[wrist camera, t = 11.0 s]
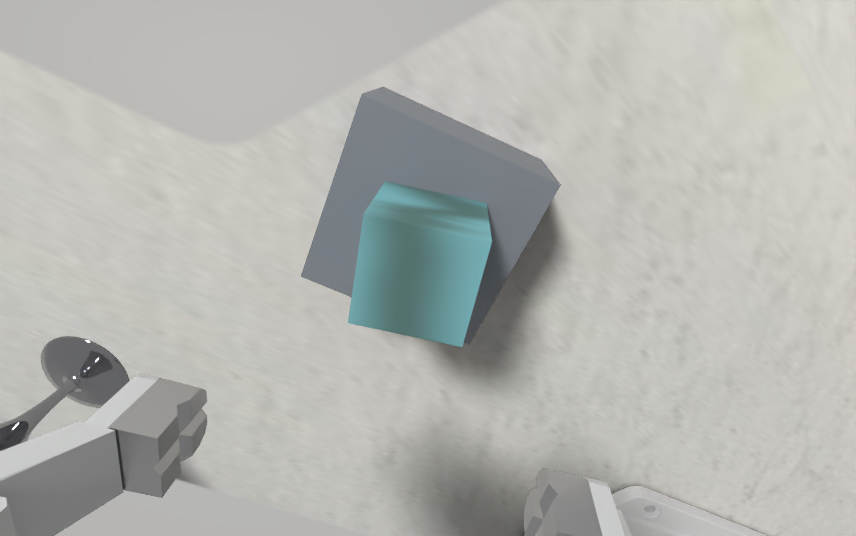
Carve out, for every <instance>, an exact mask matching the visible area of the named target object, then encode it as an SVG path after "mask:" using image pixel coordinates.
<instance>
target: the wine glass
mask: <svg viewBox="0 0 856 536" xmlns="http://www.w3.org/2000/svg"><path fill="white" fill-rule="evenodd" d="M41 365H42V369H43V371H44V373H45V375H46V377H47V378H48V380H49V381H50V382H51V383H52V385H53V386H54V387H55V388H56V389H57V391H55V392H54V393H53V394H52V395H50V396H49V397H48V398H46V399H45V400H43V401H42V402H41V403H39V404H38V405H36V406H35V407H33V408H31V409H30V410H28V411H27V412H25V413H23V414H22V415H20V416H18V417H16V418H15V419H12V420H9V421H6V422H3V423H0V451H2V450H5V449H8V448H10V447H13V446H15V445H18V444H21V443H23V442H26V441H28V438H29V436H30V434H31V432H32V431H33V429H34V428H35V427H36V426H37V425H38V423H39V422H40V421H41V420H42V419H43V418H44V417H45V416H46V415H47V414H48V413H49V412H50V411H51V410H52V409H53V408H54V407H55V406H56V405H57V404H58V403H59V402H60V401H61V400H62V399H63V398H65V397H68V398H70V399H71V400H73V401H76V402H78V403H80V404H83V405H86V406H90V407H97V408H101V407H102V406H103V405H104V404H105V403H106V402H107V401H108V400H110V399H111V398H112V397H113V396H114V395H115V394H116V393H117V392H118V391H119V390H120V389H122V388H123V387H124V386H125V385H126V384H127V383H128V382H129V379H128V376H127V373H126V372H125V370H124V368H123V366H122V365H121V364H120V362H119V361H118V360H117V359H116V358H115V357H114V356H113V355H112V354H111V353H110V352H108V351H107V350H106V349H104V348H103V347H101V346H100V345H98V344H96V343H94V342H91V341H89V340H86V339H83V338H78V337H69V336H67V337H59V338H56V339H53V340H52V341H50V342H49V343H47V344H46V345H45V347H44V349H43V350H42V354H41Z"/></svg>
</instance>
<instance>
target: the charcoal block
mask: <svg viewBox="0 0 856 536" xmlns="http://www.w3.org/2000/svg"><path fill="white" fill-rule="evenodd" d="M385 181H387V182H391V183H396V184H401V185H405V186H410V187H415V188H419V189H424V190H428V191H433V192H438V193H442V194H447V195H452V196H456V197H461V198H465V199H470V200H475V201H479V202H484V203H487V209H488V216H489V223H490V230H491V238H492V244H491V247H490V251H489V254H488V258H487V261H486V265H485V268H484V272H483V276H482V279H481V283H480V286H479V290H478V293H477V297H476V300H475V304H474V307H473V311H472V314H471V318H470V321H469V325H468V328H467V332H466V335H465V339H464V343H467V344H469V343H470V342H471V340H472V338H473V337H474V335H475V333H476V331H477V330H478V328H479V326H480V324H481V323H482V321H483V319H484V317H485V316H486V314H487V312H488V310H489V309H490V307H491V305H492V304H493V302H494V300H495V298H496V297H497V295H498V293H499V291H500V290H501V288H502V286H503V284H504V283H505V281H506V279H507V277H508V276H509V274H510V272H511V271H512V269H513V267H514V265H515V264H516V262H517V260H518V258H519V257H520V255H521V253H522V251H523V250H524V248H525V246H526V244H527V243H528V241H529V239H530V238H531V236H532V234H533V232H534V231H535V229H536V227H537V225H538V224H539V222H540V220H541V218H542V217H543V215H544V213H545V211H546V210H547V208H548V206H549V205H550V203H551V201H552V199H553V198H554V196H555V194H556V192H557V191H558V189H559V187H560V183H559V182H558V181H557V179H556V178H555V177H554V175H553V174H552V173H551V171H550V170H549V169H548V168H547V166H546V165H545V164H544V162H543V161H542V160H541V159H539V158H537V157H535V156H532V155H530V154H528V153H526V152H524V151H521V150H519V149H517V148H515V147H513V146H511V145H508V144H506V143H504V142H502V141H500V140H498V139H495V138H493V137H491V136H489V135H487V134H485V133H482V132H480V131H478V130H476V129H474V128H472V127H469V126H467V125H465V124H463V123H461V122H459V121H456V120H454V119H452V118H450V117H448V116H446V115H443V114H441V113H439V112H437V111H435V110H432V109H430V108H428V107H426V106H424V105H422V104H419V103H417V102H415V101H413V100H411V99H409V98H406V97H404V96H402V95H400V94H398V93H396V92H393V91H391V90H389V89H387V88H385V87H381V88H378V89H375V90H372V91H370V92H367V93H364V94H362V95H361V98H360V101H359V104H358V107H357V110H356V113H355V116H354V119H353V122H352V125H351V128H350V131H349V134H348V137H347V140H346V143H345V146H344V149H343V152H342V155H341V158H340V161H339V164H338V167H337V170H336V173H335V176H334V179H333V182H332V185H331V188H330V191H329V194H328V197H327V200H326V202H325V205H324V208H323V211H322V214H321V217H320V220H319V223H318V226H317V229H316V232H315V235H314V238H313V241H312V244H311V247H310V250H309V253H308V256H307V259H306V262H305V265H304V268H303V271H302V274H301V277H303V278H306V279H308V280H311V281H313V282H316V283H318V284H321V285H323V286H326V287H328V288H331V289H333V290H335V291H338V292H340V293H343V294H345V295H348V296H350V297H352V292H353V285H354V278H355V271H356V263H357V256H358V249H359V242H360V235H361V228H362V221H363V214H364V212H365V211H366V209H367V208H368V206H369V205H370V203H371V202H372V200H373V199H374V197H375V196H376V194H377V193H378V191H379V190H380V188H381V187H382V185H383V184H384V182H385Z"/></svg>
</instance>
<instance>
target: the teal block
mask: <svg viewBox="0 0 856 536" xmlns="http://www.w3.org/2000/svg"><path fill="white" fill-rule="evenodd" d="M491 244H492V238H491V230H490V223H489V216H488V209H487V203H484V202H479V201H475V200H470V199H465V198H461V197H456V196H452V195H447V194H442V193H438V192H433V191H428V190H424V189H419V188H415V187H410V186H405V185H401V184H396V183H391V182H387V181H385V182H384V184H383V185H382V187H381V188H380V190H379V191H378V193H377V194H376V196H375V197H374V199H373V200H372V202H371V203H370V205H369V206H368V208H367V209H366V211H365V212H364V214H363V221H362V228H361V235H360V242H359V249H358V256H357V263H356V271H355V278H354V285H353V292H352V299H351V306H350V313H349V320H348V323H350V324H355V325H360V326H365V327H369V328H374V329H379V330H383V331H388V332H393V333H398V334H402V335H407V336H412V337H417V338H421V339H426V340H431V341H435V342H440V343H445V344H450V345H454V346H459V347H462V346H463V343H464V339H465V335H466V332H467V328H468V325H469V321H470V318H471V314H472V311H473V307H474V304H475V300H476V297H477V293H478V290H479V286H480V283H481V279H482V276H483V272H484V268H485V265H486V261H487V258H488V254H489V251H490V247H491Z"/></svg>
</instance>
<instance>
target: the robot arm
mask: <svg viewBox="0 0 856 536" xmlns="http://www.w3.org/2000/svg"><path fill="white" fill-rule="evenodd" d="M206 402H207V394H206V390H204V389H201V388H198V387H194V386H190V385H186V384H182V383H178V382H175V381H171V380H167V379H162V378H158V377H154V376H150V375H146V374H140V375H137V376H135V377H133V378H132V379H131V380H130V381H129V382H128V383H127V384H126V385H125V386H124V387H123V388H122V389H120V390H119V391H118V392H117V393H116V394H115V395H114V396H113V397H112V398H111V399H110V400H108V401H107V402H106V403H105V404H104V405H103V406H102V407H101V408H100V409H99V410H98V411H96V412H95V413H94V414H93V415H92V416H91V417H90V418H89V419H88V420H87V421H86V422H84V423H83V422H78V421H77V422H75V423H72V424H70V425H67V426H65V427H62V428H59V429H57V430H54V431H52V432H49V433H46V434H44V435H41V436H39V437H36V438H33V439H31V440H28V441H26V442H23V443H21V444H18V445H15V446H13V447H10V448H8V449H5V450H2V451H0V536H54V535H56V534H58V533H59V532H61V531H62V530H64V529H65V528H67V527H69V526H70V525H72V524H73V523H75V522H76V521H78V520H80V519H81V518H83V517H85V516H86V515H88V514H89V513H91V512H92V511H94V510H95V509H97V508H99V507H100V506H102V505H104V504H105V503H107V502H108V501H110V500H112V499H113V498H115V497H116V496H118V495H120V494H121V493H123V490H127V491H132V492H137V493H142V494H146V495H151V496H156V497H161V498H162V497H163V496H164V494H165V493H166V491H167V490H168V489H169V487H170V486H171V484H172V483H173V482H174V480H175V479H176V478H177V476H178V475H179V474H180V472H181V471H180V462H181V461H183V460H185V459H187V458H189V457H191V456H192V455H193V454H194V453H195V451H196V450H197V448H198V447H199V445H200V443H201V441H202V438H203V436H204V434H205V430H206V426H207V415H206V413H205V412H204V411H203V409H202V407H203V406H204V405H205V403H206ZM536 482H537V487H536V488H534V489H532V490H531V491H530V492H529V495H528V497H527V499H526V503H525V509H524V531H525V534H524V536H767V535H765V534H762V533H760V532H757V531H754V530H752V529H749V528H747V527H744V526H742V525H739V524H737V523H734V522H732V521H729V520H726V519H724V518H721V517H719V516H716V515H714V514H711V513H709V512H706V511H704V510H701V509H698V508H696V507H693V506H691V505H688V504H686V503H683V502H681V501H678V500H676V499H673V498H671V497H668V496H665V495H663V494H660V493H658V492H655V491H653V490H650V489H648V488H645V487H642V486H631V487H627V488H624V489H622V490H619V491H617V492H615V493H613V494H611V491H610V487H609V485H608V484H607V483H606V482H605V481H600V480H596V479H591V478H587V477H582V476H578V475H574V474H569V473H565V472H560V471H556V470H551V469H547V468H542V469H541V470H540V471H539V473H538V475H537V477H536Z"/></svg>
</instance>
